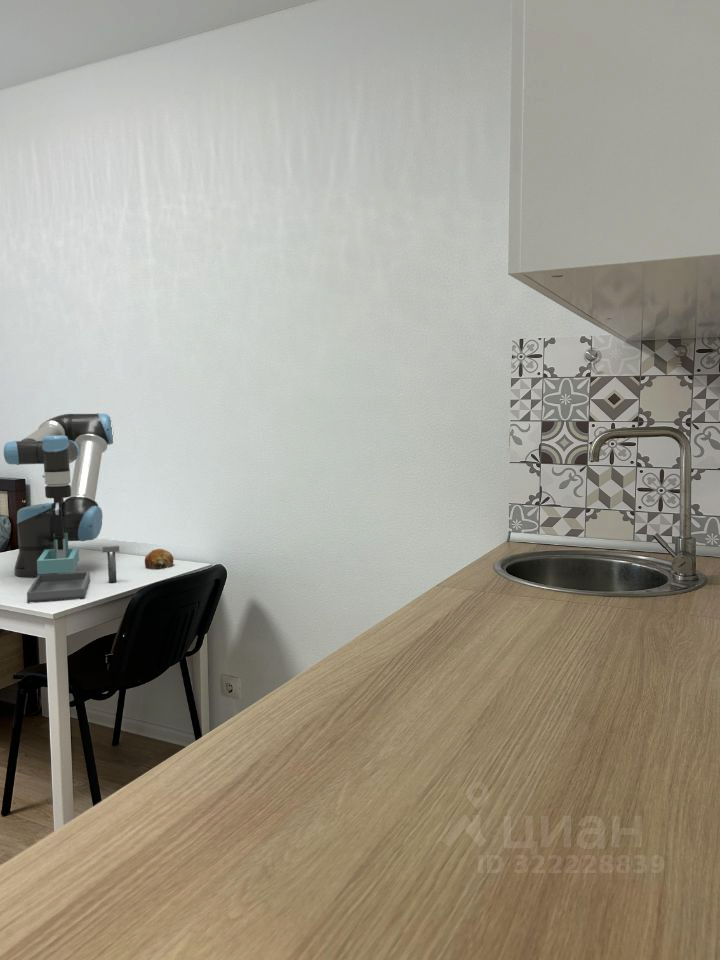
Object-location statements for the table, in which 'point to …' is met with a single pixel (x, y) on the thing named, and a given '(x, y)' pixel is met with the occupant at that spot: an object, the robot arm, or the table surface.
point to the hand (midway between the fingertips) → (61, 558)
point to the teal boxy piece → (58, 560)
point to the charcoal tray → (59, 587)
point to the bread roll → (158, 559)
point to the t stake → (111, 562)
